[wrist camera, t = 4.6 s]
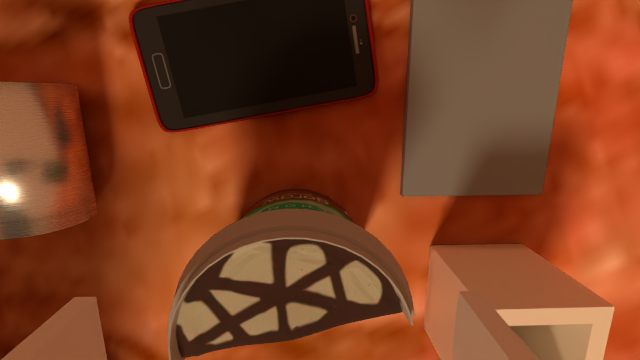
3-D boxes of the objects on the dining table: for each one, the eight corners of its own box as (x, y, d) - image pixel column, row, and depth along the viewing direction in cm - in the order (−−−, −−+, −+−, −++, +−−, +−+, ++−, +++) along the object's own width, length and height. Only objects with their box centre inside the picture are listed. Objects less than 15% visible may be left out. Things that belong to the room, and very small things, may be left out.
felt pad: (400, 193, 25) (402, 196, 24) (413, -42, 21) (416, -46, 20) (536, 192, 25) (542, 194, 24) (572, -40, 21) (579, -44, 21)
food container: (365, 155, 24) (405, 196, 14) (379, 236, 25) (425, 323, 16) (192, 193, 24) (115, 258, 14) (217, 270, 26) (162, 377, 16)
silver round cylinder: (115, 204, 24) (54, 238, 18) (27, 205, 24) (-64, 240, 18) (98, 85, 22) (23, 81, 16) (1, 85, 22) (-109, 81, 16)
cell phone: (131, 12, 22) (122, 8, 21) (361, -31, 21) (364, -37, 21) (166, 134, 23) (160, 135, 22) (378, 95, 23) (381, 95, 22)
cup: (423, 327, 27) (470, 418, 20) (430, 245, 26) (484, 309, 18) (510, 324, 28) (590, 414, 20) (522, 243, 26) (614, 306, 18)
